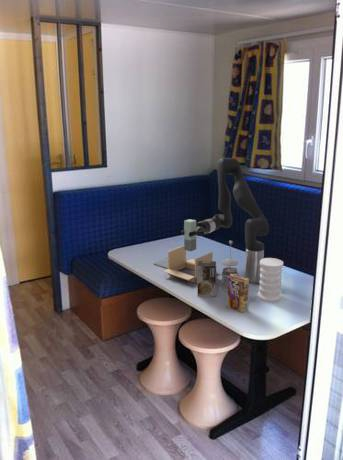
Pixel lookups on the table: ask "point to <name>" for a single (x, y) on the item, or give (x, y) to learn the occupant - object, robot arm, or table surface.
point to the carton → (184, 263)
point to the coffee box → (206, 278)
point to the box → (188, 241)
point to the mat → (162, 263)
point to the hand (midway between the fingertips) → (185, 234)
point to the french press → (228, 270)
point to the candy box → (238, 292)
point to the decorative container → (270, 280)
